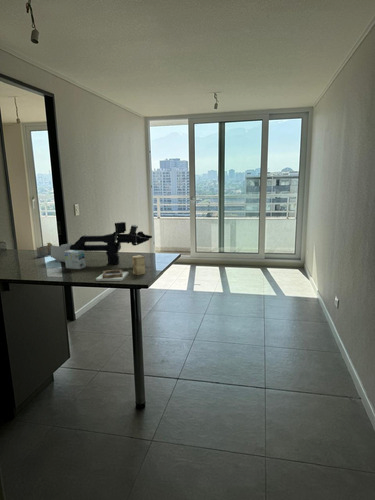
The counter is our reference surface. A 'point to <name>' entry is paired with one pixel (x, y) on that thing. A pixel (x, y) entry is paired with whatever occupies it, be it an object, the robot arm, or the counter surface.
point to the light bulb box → (75, 259)
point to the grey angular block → (60, 251)
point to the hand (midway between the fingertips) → (150, 238)
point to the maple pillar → (138, 265)
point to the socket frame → (112, 273)
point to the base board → (112, 278)
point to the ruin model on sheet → (44, 250)
